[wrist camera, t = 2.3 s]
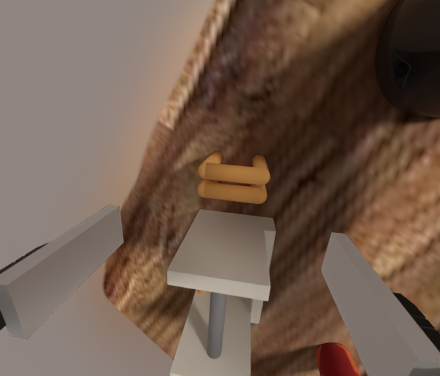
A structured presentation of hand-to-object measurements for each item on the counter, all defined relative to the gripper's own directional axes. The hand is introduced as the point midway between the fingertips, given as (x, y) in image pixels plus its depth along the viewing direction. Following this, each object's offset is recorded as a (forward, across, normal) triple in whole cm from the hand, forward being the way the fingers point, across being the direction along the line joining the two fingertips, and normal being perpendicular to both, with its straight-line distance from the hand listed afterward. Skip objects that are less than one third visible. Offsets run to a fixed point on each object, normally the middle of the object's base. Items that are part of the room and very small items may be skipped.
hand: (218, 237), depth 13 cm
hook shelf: (+18, 0, -16) cm, 25 cm away
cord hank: (+18, 0, 0) cm, 18 cm away
